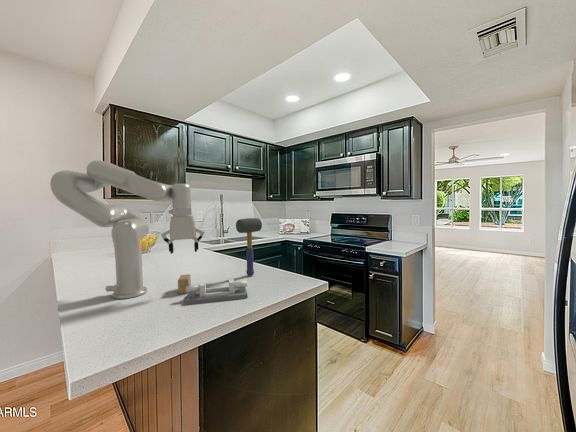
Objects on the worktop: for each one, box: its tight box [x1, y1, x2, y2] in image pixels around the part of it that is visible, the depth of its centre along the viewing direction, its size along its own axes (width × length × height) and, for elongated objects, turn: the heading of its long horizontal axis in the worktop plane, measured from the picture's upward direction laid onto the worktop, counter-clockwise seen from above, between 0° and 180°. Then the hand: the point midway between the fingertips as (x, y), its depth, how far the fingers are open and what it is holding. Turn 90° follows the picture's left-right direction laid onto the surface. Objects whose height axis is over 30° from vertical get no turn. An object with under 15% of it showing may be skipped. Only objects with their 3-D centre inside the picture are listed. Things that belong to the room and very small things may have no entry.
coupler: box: [177, 274, 192, 295], centre depth 111 cm, size 8×4×6 cm, turn 14°
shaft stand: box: [184, 278, 249, 305], centre depth 103 cm, size 24×10×6 cm, turn 104°
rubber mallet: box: [235, 217, 263, 277], centre depth 132 cm, size 12×8×30 cm, turn 131°
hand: (184, 252), depth 110 cm, fingers open, 9 cm apart
